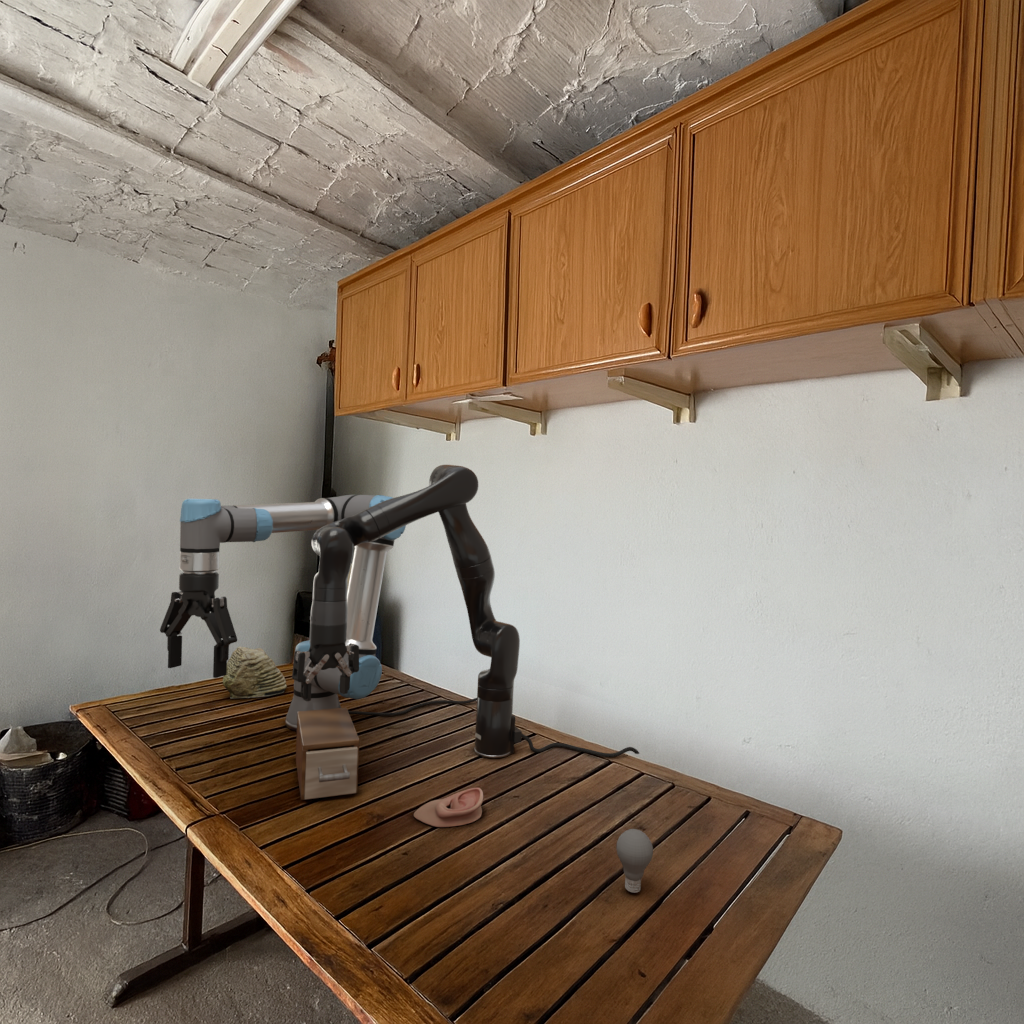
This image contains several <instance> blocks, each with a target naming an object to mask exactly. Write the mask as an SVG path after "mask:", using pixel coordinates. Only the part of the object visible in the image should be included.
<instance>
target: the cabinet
mask: <svg viewBox="0 0 1024 1024" xmlns="http://www.w3.org/2000/svg"><path fill="white" fill-rule="evenodd" d="M348 711H349V710H348V708H347V707H341V708H335V709H322V710H310V711H298V712H297V731H296V740H295V741H296V742H295V746H296V747H295V764H296V772H297V780H298V788H299V797H300V801H304V800H307V799H305V797H304V795H305V769H306V752H308V750H311V749H321V748H331V747H341V746H351V747H357V748H358V755H357V780H356V793H355V794H358V786H359V785H358V784H359V761H360V760H359V757H360V738H359V736H358V732H357V730H356V728H355V725H354V722H353V721H352V718H351V714H349V712H348ZM352 794H354V793H351V794H350V795H352ZM345 795H346V794H344V795H343V796H345ZM336 796H338V795H336ZM336 796H335V797H336ZM329 797H330V796H328V797H327V798H329ZM321 798H323V797H320V799H321ZM312 799H313V800H314V799H315V798H312ZM312 799H311V800H312Z"/></svg>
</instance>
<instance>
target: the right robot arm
mask: <svg viewBox="0 0 1024 1024" xmlns="http://www.w3.org/2000/svg"><path fill="white" fill-rule="evenodd" d="M478 490H479V479H478V476H477V475H476V473H475V472H474V471H473V470H472V469H470V468H468V467H465V466H462V465H454V464H441V465H438V466H436V467H435V468H434V469H433V470H432V471H431V473H430V476H429V481H428V486H426V487H424V488H421V489H419V490H417V491H413V492H410V493H406V494H404V495H403V494H402V495H399V496H396V497H393V498H392V499H389V500H386V501H383V502H381V503H378V504H376V505H374V506H372V507H370V508H367V509H365V510H363V511H361V512H359V513H358V514H356V515H353V516H351V517H347V518H344V519H341V520H338V521H335V522H333V523H330V524H327V525H325V526H323V527H321V528H320V529H318V530H315V532H314V533H313V535H312V537H311V548H312V550H313V552H314V553H315V554H316V555H317V556H318V557H319V564H318V572H316V573H315V574H314V577H313V581H312V582H313V584H312V600H311V601H312V602H311V606H310V616H309V620H310V622H309V640H310V648H309V650H308V651H305V652H301V651H298V650H297V651H296V650H294V653H293V664H292V672H291V673H292V675H291V678H292V680H293V681H294V680H296V681H298V682H301V697H302V698H303V700H305V701H310V700H311V685H312V684H311V683H310V682H311V681H312V679H313V678H314V676H315V675H317V674H318V673H319V671H320V670H326V669H328V668H336V667H337V668H338V669H339V670H340V672H341V673H342V675H340V693H342V694H347V693H348V691H349V688H350V676H351V674H353V673H354V672H358V671H359V646H358V645H356V644H352V643H350V644H349V645H347V646H346V645H345V642H346V637H347V614H348V608H347V591H348V585H349V581H348V578H349V576H350V575H349V574H350V572H351V568H352V562H353V556H354V548H355V547H354V546H356V545H358V544H361V543H369V542H372V541H375V540H377V539H379V538H381V537H383V536H385V535H387V534H389V533H391V532H393V531H395V530H397V529H399V528H401V527H403V526H405V525H406V526H407V525H409V524H411V523H414V522H416V521H418V520H421V519H423V518H426V517H428V516H431V515H434V514H436V513H438V514H439V517H440V520H441V522H442V526H443V528H444V533H445V535H446V540H447V544H448V546H449V550H450V554H451V557H452V562H453V565H454V568H455V572H456V575H457V579H458V582H459V585H460V589H461V590H462V596H463V599H464V603H465V606H466V612H467V616H468V622H469V629H470V633H471V639H472V643H473V646H474V648H475V650H476V651H477V652H478V653H479V654H481V655H483V656H485V657H488V658H491V659H490V664H489V665H490V666H489V668H488V669H487V668H486V669H483V670H481V671H480V672H479V673H478V675H477V693H476V696H477V697H476V698H477V701H476V712H475V713H476V714H475V715H476V716H475V734H474V736H475V737H474V738H475V739H474V749H473V751H474V753H475V754H476V755H477V756H479V757H482V758H486V759H502V758H506V757H508V756H510V755H511V754H512V755H513V754H514V753H515V744H517V743H522V739H523V740H525V741H526V742H527V743H528V746H529V747H528V748H529V749H530V750H531V752H533V753H542V752H545V751H547V750H549V749H552V748H565V749H568V750H572V751H576V752H580V753H585V754H588V755H593V756H597V757H602V758H616V757H620V756H622V755H623V754H625V753H628V752H632V753H634V754H635V755H639V754H640V752H639V751H638V749H636V748H635V747H632V746H626V747H625V748H622V749H620V750H619V751H617V752H616V751H615V752H611V753H610V752H608V753H607V752H601V751H596V750H593V749H590V748H586V747H585V748H584V747H580V746H576V745H572V744H569V743H563V742H552V743H549V744H547V745H545V746H543V747H541V748H536V747H535V746H534V744H533V741H532V740H531V738H530V737H529V736H527V735H525V734H523V731H522V730H521V729H520V728H519V727H517V726H516V716H515V715H514V714H513V711H514V688H515V679H516V676H517V674H518V667H519V657H520V647H521V639H520V638H521V637H520V633H519V630H518V629H517V628H516V626H515V625H512V624H510V623H507V622H502V621H498V620H497V619H496V617H495V615H494V612H493V608H492V603H491V595H492V594H491V593H492V591H493V586H494V584H495V578H496V572H495V567H494V563H493V560H492V554H491V551H490V549H489V546H488V544H487V543H486V541H485V539H484V537H483V536H482V534H481V532H480V531H479V529H478V527H477V526H476V524H475V523H474V521H473V519H472V518H471V516H470V513H469V510H468V505H467V504H468V503H469V502H471V501H472V500H474V498H475V496H476V495H477V493H478ZM346 652H347V654H348V665H347V664H346V662H345V661H344V660H343V657H344V655H345V654H346ZM308 657H309V658H310V662H309V663H308V665H307V666H306V668H305V669H306V670H305V671H304V665H305V662H306V661H307V658H308ZM314 665H315V667H314ZM313 667H314V668H313Z"/></svg>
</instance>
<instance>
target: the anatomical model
mask: <svg viewBox="0 0 1024 1024" xmlns="http://www.w3.org/2000/svg"><path fill="white" fill-rule="evenodd" d="M483 802H484V792H483V790H482V788H480V787H471V788H467V789H464V790H461V791H458V792H456V793H454V794H451V795H449V796H446V797H444V798H441V799H440V798H439V799H434V800H430V801H429V802H427V803H424V804H423V805H421V806H419V808H418V809H417V810H415V811H414V813H413V817H414V818H415V819H416V820H417V821H419V822H422V823H424V824H426V825H428V826H432V827H434V828H435V827H436V828H449V827H450V828H451V827H457V826H464V825H467V824H471V823H474V822H475V821H477V820H479V819H480V818H481V817H482V814H483V809H482V805H483Z"/></svg>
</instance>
